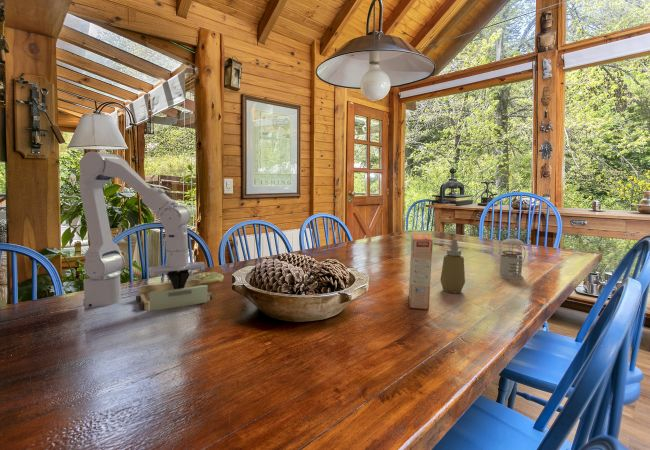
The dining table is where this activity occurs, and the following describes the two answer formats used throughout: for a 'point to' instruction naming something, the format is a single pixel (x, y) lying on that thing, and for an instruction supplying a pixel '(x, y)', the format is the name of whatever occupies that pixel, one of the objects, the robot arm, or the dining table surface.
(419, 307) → the cracker box
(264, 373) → the dining table surface
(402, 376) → the dining table surface
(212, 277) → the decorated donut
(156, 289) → the cart
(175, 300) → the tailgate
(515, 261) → the french press
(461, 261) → the squeeze bottle
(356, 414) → the dining table surface
